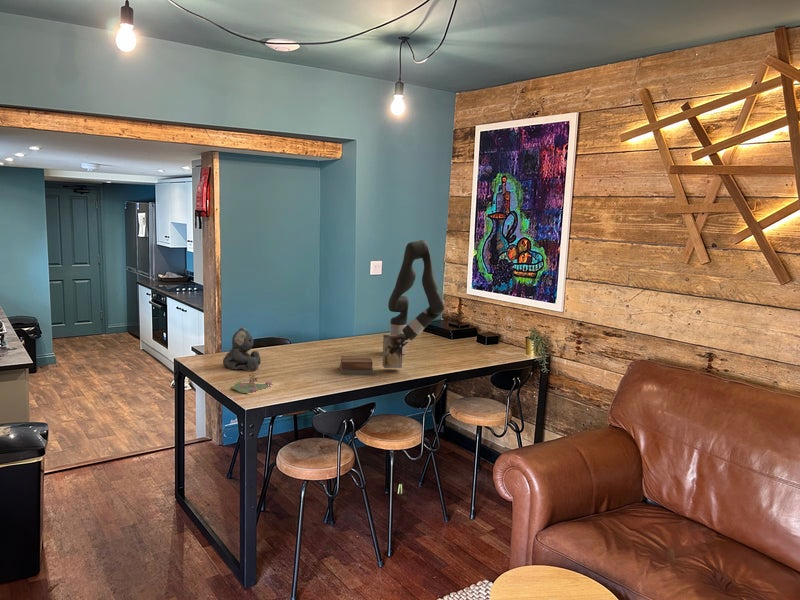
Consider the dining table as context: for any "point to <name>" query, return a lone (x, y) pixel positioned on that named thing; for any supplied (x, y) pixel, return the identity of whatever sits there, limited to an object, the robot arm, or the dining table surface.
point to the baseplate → (356, 371)
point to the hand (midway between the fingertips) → (389, 351)
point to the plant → (250, 386)
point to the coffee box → (396, 357)
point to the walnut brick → (356, 363)
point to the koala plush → (242, 352)
